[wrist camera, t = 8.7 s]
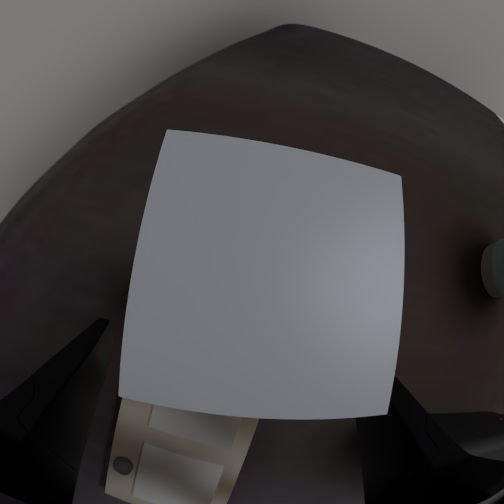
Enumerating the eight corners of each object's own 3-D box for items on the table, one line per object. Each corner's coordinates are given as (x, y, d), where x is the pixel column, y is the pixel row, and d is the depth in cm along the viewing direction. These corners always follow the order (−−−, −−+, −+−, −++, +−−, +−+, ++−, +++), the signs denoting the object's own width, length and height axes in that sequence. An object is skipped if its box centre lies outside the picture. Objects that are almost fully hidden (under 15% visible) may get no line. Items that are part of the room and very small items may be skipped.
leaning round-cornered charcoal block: (361, 457, 18) (426, 510, 9) (380, 409, 19) (458, 446, 10) (472, 446, 19) (530, 466, 10) (486, 408, 20) (548, 421, 11)
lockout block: (263, 342, 18) (386, 414, 4) (191, 332, 17) (118, 396, 4) (271, 271, 19) (400, 176, 5) (201, 261, 18) (167, 129, 5)
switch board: (216, 518, 16) (217, 530, 14) (108, 485, 15) (102, 496, 13) (301, 264, 21) (309, 260, 19) (179, 225, 20) (176, 217, 18)
